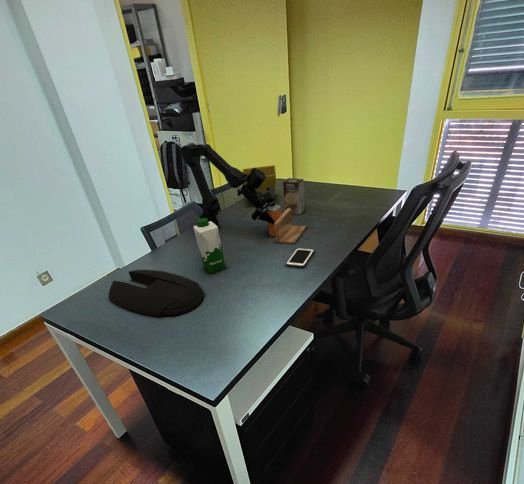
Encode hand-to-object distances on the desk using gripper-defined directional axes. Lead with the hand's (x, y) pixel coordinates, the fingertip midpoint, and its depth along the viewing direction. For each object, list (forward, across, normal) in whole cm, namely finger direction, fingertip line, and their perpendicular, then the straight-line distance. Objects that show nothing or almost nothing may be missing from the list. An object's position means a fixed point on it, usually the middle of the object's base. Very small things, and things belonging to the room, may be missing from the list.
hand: (277, 220), depth 153 cm
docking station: (-14, -60, +24) cm, 66 cm away
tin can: (+4, 0, +6) cm, 7 cm away
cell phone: (+17, -22, -8) cm, 29 cm away
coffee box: (+4, +28, +6) cm, 29 cm away
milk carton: (-6, -36, +16) cm, 40 cm away
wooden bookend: (+9, 0, 0) cm, 9 cm away
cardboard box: (-13, +42, +23) cm, 50 cm away
